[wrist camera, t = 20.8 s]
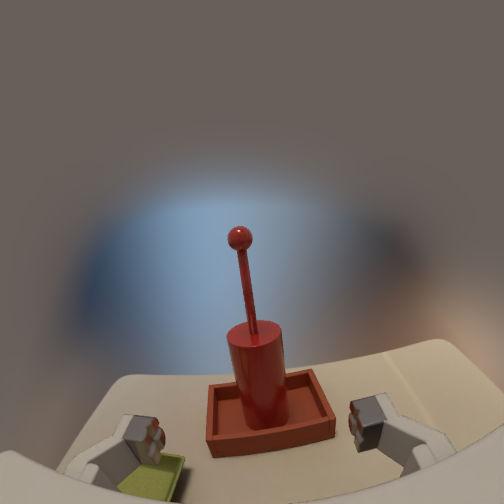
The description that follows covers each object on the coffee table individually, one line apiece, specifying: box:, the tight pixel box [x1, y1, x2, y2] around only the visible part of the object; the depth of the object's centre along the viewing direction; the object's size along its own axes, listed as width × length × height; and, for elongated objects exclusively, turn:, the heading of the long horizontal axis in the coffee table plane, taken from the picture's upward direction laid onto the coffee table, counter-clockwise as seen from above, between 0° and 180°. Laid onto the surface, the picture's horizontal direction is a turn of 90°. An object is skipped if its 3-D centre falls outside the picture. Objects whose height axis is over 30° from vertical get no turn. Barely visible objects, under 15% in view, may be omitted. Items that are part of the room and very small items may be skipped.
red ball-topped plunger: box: [227, 226, 289, 431], centre depth 22 cm, size 4×4×18 cm
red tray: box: [206, 369, 336, 458], centre depth 24 cm, size 11×8×3 cm
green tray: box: [117, 453, 185, 502], centre depth 15 cm, size 9×9×2 cm
